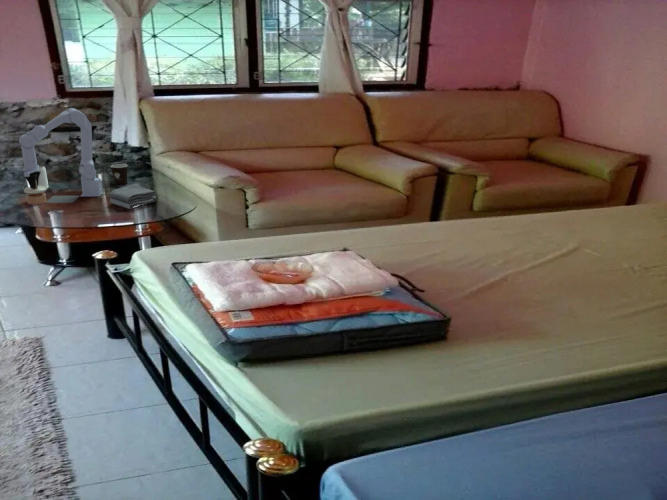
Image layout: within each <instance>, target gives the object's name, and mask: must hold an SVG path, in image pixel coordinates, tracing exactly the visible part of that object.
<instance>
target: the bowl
mask: <svg viewBox="0 0 667 500" xmlns="http://www.w3.org/2000/svg"><path fill="white" fill-rule="evenodd" d="M25 198H26V201H27V204H28V205H40V204H46V202H47V195H46V192H41V193H35V194H28V193H26V195H25Z"/></svg>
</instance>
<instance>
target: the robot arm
mask: <svg viewBox="0 0 667 500" xmlns="http://www.w3.org/2000/svg"><path fill="white" fill-rule="evenodd" d="M71 122H72V123H74V124H75V125H76V126H78V127H79V128H80V147H81V148H80V150H81V155H80V156H81V159H80V164H79V166H78V173H79V174H80V175H81V176H80V182H81V188H82V189H81V190H82V194H80V197H100V196H101V195H102V194H103V193H104V191H103V182H102V179H101V178H100V177H97V170H96V168H95V164H94V160H93V137H92V136H93V133H92V132H93V131H92V128H93V127H92V123H91V122H90V121H89V119H88V118H87V116H86V114H85V113H83V112H81V111H80V110H78V109H76V108H75V107H69V108H67V109H66V110H63V111H62V112H61V113H59V114H58V115H57V116H55V117H54V118H52V119H51V120H50V121H48V122H47V123H45V124H44V125H41V124H39V125H34V128H33V129H31V130H30V131H27V132H25V133H26V134H22V135H20V136H19V138H18V139H19V140H18V143H19V145H20V146H21V154H22V160H23V166H24V168H22V171H23V177H24V179H25V180H26V181H27V183H28V185H29V187H31V188H36V181H37V186H38V182H39V176H40V173H41V172H40V171H38V170H39V165H40V164H38V161H37V154H36V150H35V146H36V143H38V142H40V141H41V140H43V139H44V138H47V136H49V132H50V131H52V130H53V129H55V128H57V127H59V126H60V125H61V124H71Z"/></svg>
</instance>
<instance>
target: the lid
mask: <svg viewBox="0 0 667 500" xmlns="http://www.w3.org/2000/svg"><path fill="white" fill-rule="evenodd" d="M47 190H48V188H46V187H45V186H37V181H36V188H31V187H30V186H28V187H26V188H24V189H23V193H24V194H35V193H41V192H42V193H45V192H46V191H47Z"/></svg>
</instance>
